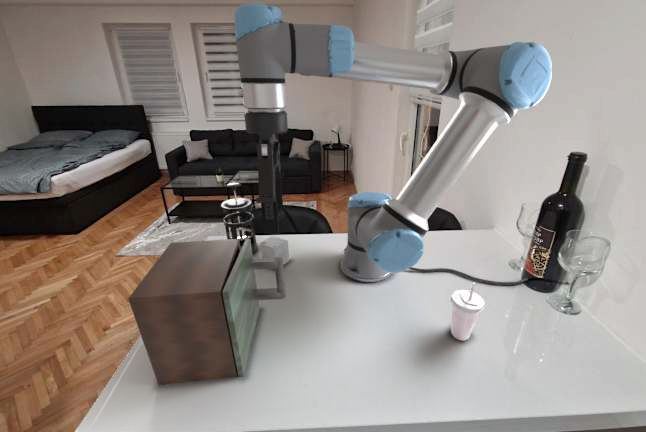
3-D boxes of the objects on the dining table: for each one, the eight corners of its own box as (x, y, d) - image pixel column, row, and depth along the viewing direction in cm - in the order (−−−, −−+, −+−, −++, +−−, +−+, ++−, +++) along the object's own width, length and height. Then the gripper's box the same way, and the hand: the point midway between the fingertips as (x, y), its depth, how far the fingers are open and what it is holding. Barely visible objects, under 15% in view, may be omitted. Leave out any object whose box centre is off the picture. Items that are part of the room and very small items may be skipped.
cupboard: (250, 311, 73) (239, 238, 65) (237, 377, 57) (220, 291, 49) (189, 316, 72) (170, 242, 64) (158, 385, 56) (127, 298, 47)
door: (288, 309, 74) (282, 237, 66) (280, 374, 57) (271, 290, 49) (255, 310, 73) (245, 239, 65) (238, 376, 57) (222, 292, 49)
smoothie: (461, 349, 63) (473, 295, 57) (438, 329, 68) (447, 277, 62) (482, 338, 65) (496, 285, 60) (458, 319, 71) (469, 269, 65)
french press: (251, 260, 94) (241, 190, 85) (222, 258, 95) (209, 189, 86) (263, 242, 105) (256, 178, 95) (237, 240, 106) (227, 177, 96)
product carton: (290, 261, 94) (288, 240, 91) (276, 270, 89) (274, 248, 86) (275, 255, 97) (273, 235, 94) (261, 264, 92) (259, 243, 89)
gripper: (253, 104, 65) (262, 197, 74) (229, 117, 42) (246, 249, 51) (289, 104, 66) (293, 196, 74) (283, 117, 43) (291, 247, 52)
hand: (274, 218), depth 63 cm, fingers open, 13 cm apart
